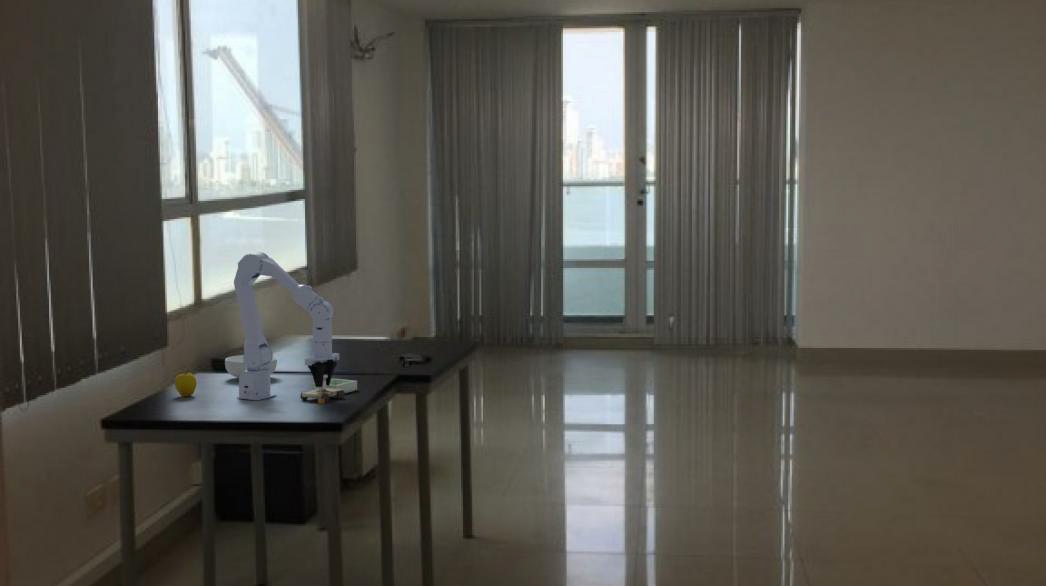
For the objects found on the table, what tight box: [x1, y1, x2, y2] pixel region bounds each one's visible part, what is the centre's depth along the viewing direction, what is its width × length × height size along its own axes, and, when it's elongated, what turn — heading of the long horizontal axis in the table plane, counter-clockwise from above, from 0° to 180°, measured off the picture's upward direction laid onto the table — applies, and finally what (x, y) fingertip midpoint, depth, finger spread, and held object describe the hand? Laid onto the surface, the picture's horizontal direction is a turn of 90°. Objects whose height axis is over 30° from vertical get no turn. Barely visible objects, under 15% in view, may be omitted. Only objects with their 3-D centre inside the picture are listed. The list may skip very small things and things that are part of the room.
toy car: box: [300, 388, 346, 405], centre depth 357 cm, size 12×9×3 cm
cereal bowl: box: [224, 354, 278, 379], centre depth 394 cm, size 17×17×7 cm
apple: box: [174, 370, 197, 398], centre depth 360 cm, size 6×6×8 cm
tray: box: [312, 378, 358, 394], centre depth 371 cm, size 11×9×3 cm
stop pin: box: [319, 374, 328, 392], centre depth 357 cm, size 3×3×7 cm
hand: (322, 386), depth 357 cm, fingers closed on stop pin, 3 cm apart
